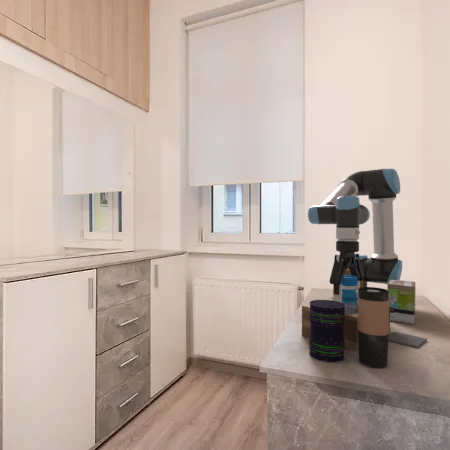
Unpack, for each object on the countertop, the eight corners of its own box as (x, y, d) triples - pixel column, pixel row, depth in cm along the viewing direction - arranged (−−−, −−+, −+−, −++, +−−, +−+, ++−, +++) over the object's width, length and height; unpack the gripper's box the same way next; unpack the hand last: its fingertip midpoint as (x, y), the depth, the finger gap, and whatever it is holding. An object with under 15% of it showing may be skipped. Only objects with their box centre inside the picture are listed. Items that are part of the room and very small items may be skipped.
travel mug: (392, 362, 87) (392, 289, 87) (383, 371, 81) (384, 293, 81) (363, 354, 92) (363, 285, 92) (353, 362, 86) (354, 289, 86)
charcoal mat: (394, 332, 111) (394, 331, 111) (426, 340, 104) (426, 338, 104) (383, 339, 104) (383, 337, 104) (417, 348, 97) (417, 346, 97)
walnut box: (339, 319, 127) (339, 294, 127) (390, 331, 113) (390, 303, 113) (301, 335, 108) (301, 305, 108) (356, 351, 94) (356, 317, 94)
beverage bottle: (344, 338, 105) (344, 278, 105) (329, 330, 113) (329, 274, 114) (365, 336, 107) (365, 277, 108) (349, 328, 116) (349, 274, 116)
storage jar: (304, 349, 96) (304, 299, 96) (335, 348, 96) (336, 299, 96) (316, 363, 86) (316, 308, 86) (351, 362, 86) (351, 307, 87)
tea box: (415, 324, 122) (415, 286, 122) (386, 320, 127) (386, 283, 127) (415, 315, 135) (415, 280, 135) (388, 312, 140) (389, 278, 140)
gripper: (340, 241, 99) (340, 308, 99) (372, 240, 117) (372, 298, 116) (319, 240, 105) (318, 304, 105) (352, 239, 122) (352, 294, 122)
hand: (346, 301), depth 110 cm, fingers open, 13 cm apart
